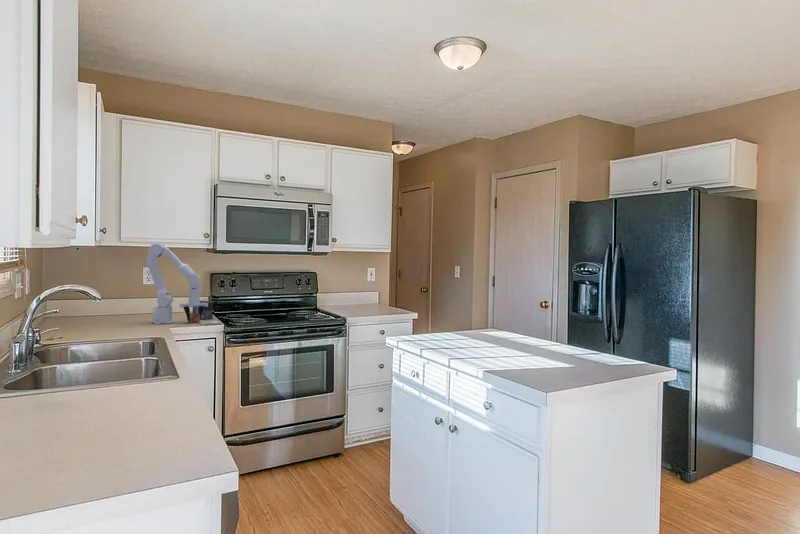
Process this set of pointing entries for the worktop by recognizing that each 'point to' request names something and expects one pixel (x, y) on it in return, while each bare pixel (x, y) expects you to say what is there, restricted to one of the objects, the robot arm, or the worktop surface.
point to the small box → (205, 311)
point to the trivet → (209, 322)
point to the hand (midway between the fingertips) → (193, 320)
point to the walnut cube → (194, 318)
